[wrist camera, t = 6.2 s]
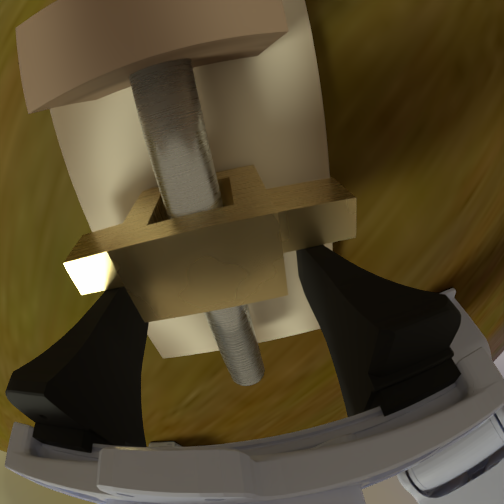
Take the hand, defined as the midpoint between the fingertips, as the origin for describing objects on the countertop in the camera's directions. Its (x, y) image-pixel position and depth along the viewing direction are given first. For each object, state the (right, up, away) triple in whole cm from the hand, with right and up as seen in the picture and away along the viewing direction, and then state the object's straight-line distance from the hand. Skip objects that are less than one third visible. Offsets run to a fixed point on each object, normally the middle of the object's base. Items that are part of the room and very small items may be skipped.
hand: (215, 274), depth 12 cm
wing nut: (-1, +3, +1) cm, 3 cm away
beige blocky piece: (-1, +4, +2) cm, 4 cm away
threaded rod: (0, +1, 0) cm, 1 cm away
